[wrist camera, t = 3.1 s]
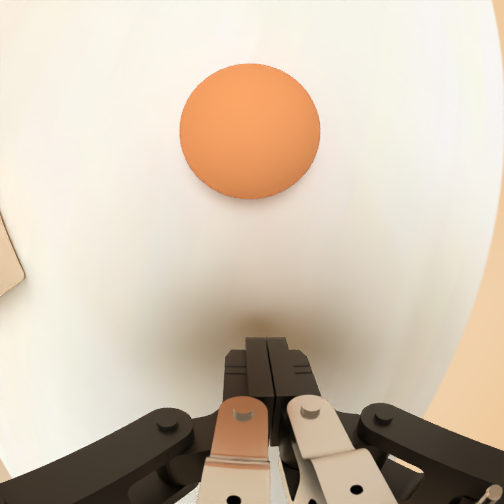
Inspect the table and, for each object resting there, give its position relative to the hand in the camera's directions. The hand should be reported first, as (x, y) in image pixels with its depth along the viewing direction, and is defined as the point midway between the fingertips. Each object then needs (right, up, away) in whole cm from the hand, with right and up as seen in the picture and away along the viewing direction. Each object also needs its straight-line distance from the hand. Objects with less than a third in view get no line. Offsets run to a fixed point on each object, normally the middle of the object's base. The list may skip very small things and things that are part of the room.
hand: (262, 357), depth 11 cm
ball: (0, +9, 0) cm, 9 cm away
